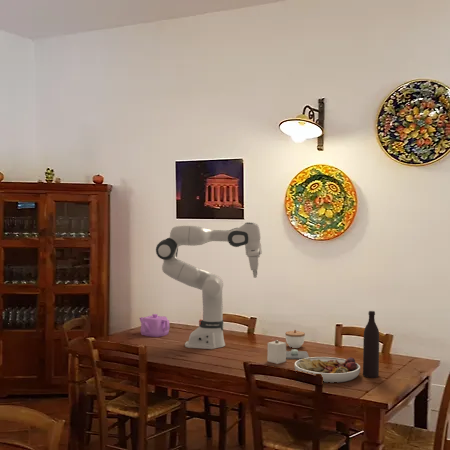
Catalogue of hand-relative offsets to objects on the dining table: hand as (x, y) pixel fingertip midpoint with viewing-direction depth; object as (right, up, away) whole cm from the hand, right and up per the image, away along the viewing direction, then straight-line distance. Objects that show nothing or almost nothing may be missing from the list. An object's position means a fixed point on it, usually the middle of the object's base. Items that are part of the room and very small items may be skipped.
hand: (255, 276), depth 337 cm
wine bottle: (+50, -42, -57) cm, 87 cm away
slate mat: (+19, -40, -20) cm, 49 cm away
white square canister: (+9, -40, -32) cm, 52 cm away
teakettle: (-60, -38, +30) cm, 77 cm away
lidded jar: (+22, -40, +1) cm, 45 cm away
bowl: (+30, -42, -55) cm, 76 cm away
